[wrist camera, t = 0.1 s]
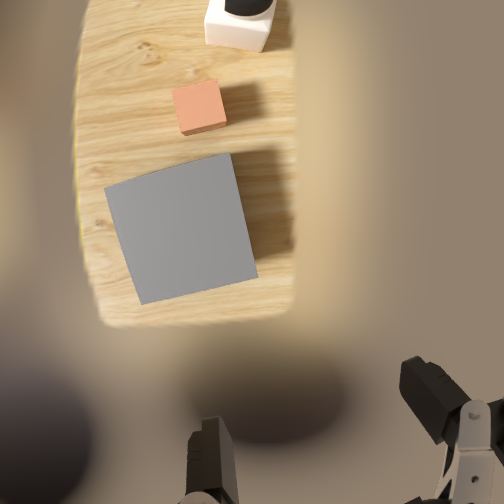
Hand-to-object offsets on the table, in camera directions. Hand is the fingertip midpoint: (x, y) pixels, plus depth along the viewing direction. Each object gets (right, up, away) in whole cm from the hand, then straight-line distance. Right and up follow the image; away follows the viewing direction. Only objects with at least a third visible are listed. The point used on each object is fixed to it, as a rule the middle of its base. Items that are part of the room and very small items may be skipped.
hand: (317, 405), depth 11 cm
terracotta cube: (-9, +23, +23) cm, 34 cm away
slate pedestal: (-11, +10, +26) cm, 30 cm away
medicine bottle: (-4, +35, +20) cm, 41 cm away
